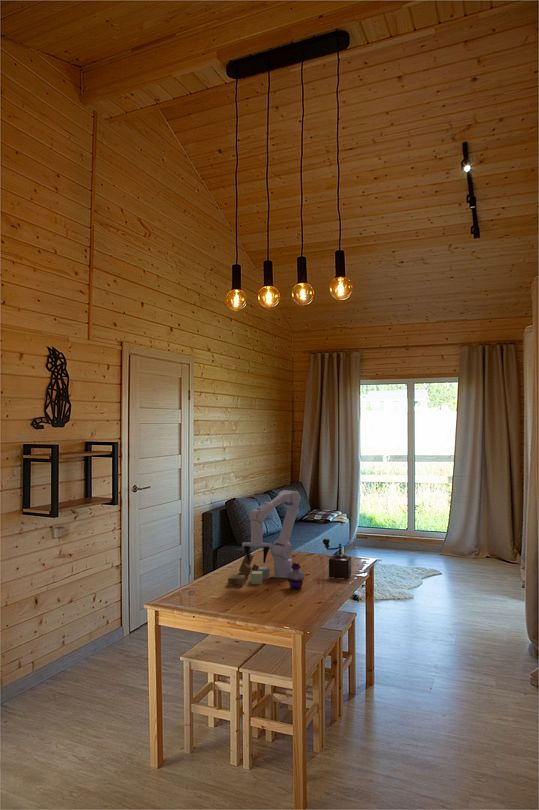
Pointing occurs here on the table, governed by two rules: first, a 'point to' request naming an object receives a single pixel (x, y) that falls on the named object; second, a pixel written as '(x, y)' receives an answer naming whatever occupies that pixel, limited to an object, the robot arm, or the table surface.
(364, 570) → the table surface
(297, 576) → the potion bottle
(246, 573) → the wooden block set
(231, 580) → the walnut base
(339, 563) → the manual coffee grinder
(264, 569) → the slate cube
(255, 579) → the sage cube
